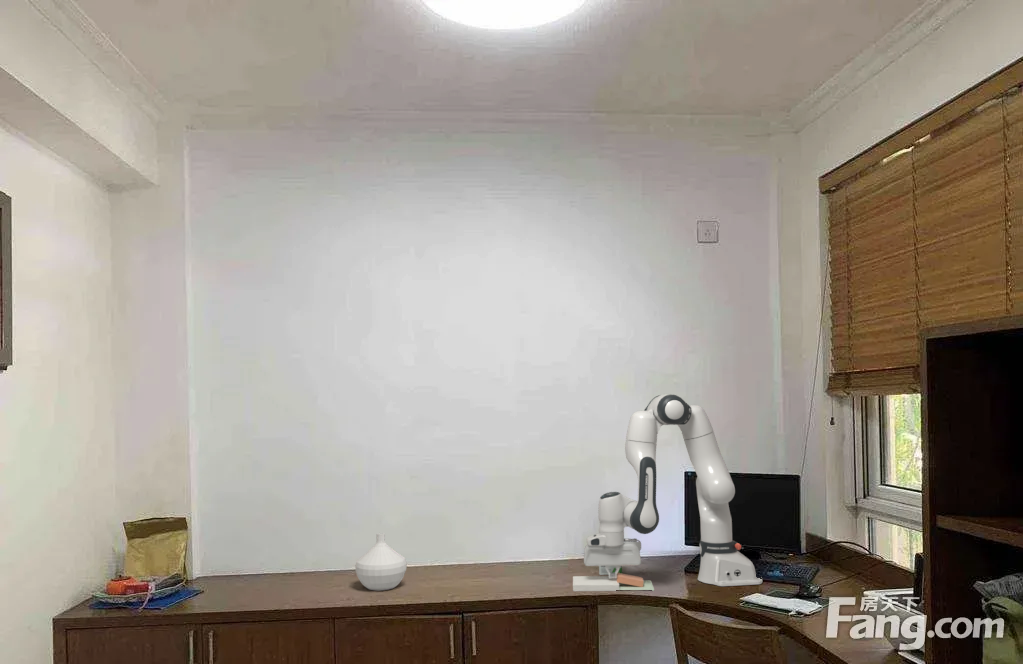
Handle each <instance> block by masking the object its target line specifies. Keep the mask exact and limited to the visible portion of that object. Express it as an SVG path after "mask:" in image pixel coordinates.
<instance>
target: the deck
mask: <svg viewBox="0 0 1023 664" xmlns="http://www.w3.org/2000/svg"><path fill="white" fill-rule="evenodd" d="M616 590H619V583H618V582H617V579H616V578H610V579H609V575H589V576H588V575H574V576H572V591H573V592H617V591H616Z"/></svg>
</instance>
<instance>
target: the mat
mask: <svg viewBox="0 0 1023 664" xmlns="http://www.w3.org/2000/svg"><path fill="white" fill-rule="evenodd" d="M643 581H644V582H643V587H639V586H634V585H629V584H623V583H619V590H652V591H653V592H655V587H654V585H653V583H652V580H648V579H645V580H644V579H643ZM652 591H651V592H652Z"/></svg>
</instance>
